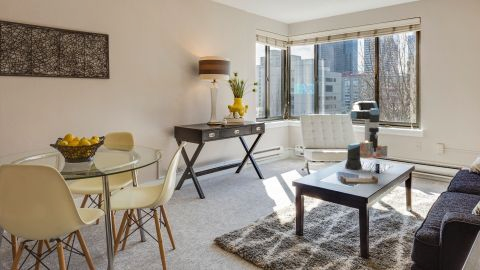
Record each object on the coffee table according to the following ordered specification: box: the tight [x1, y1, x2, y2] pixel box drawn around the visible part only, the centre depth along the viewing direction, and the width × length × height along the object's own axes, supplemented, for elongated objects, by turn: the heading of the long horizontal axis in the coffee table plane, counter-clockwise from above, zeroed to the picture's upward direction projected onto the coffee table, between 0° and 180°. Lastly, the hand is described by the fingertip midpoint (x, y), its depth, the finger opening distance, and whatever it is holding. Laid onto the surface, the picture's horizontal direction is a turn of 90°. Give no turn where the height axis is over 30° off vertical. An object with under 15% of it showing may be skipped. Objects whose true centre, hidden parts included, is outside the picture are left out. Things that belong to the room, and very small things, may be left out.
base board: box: [340, 174, 379, 185], centre depth 271 cm, size 12×26×4 cm, turn 85°
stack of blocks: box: [359, 141, 388, 159], centre depth 282 cm, size 21×6×12 cm, turn 100°
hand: (373, 154), depth 282 cm, fingers closed on stack of blocks, 7 cm apart
